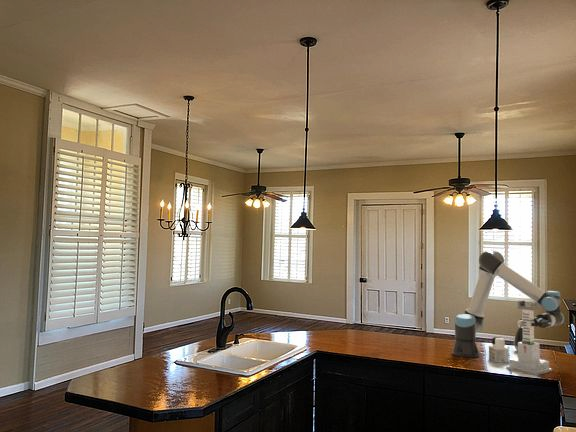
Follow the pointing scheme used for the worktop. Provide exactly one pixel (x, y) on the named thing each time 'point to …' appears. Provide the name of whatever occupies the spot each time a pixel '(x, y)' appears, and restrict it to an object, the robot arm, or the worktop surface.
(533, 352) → the jack stand base
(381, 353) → the worktop surface
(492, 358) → the container
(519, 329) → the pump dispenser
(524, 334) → the jack stand column
